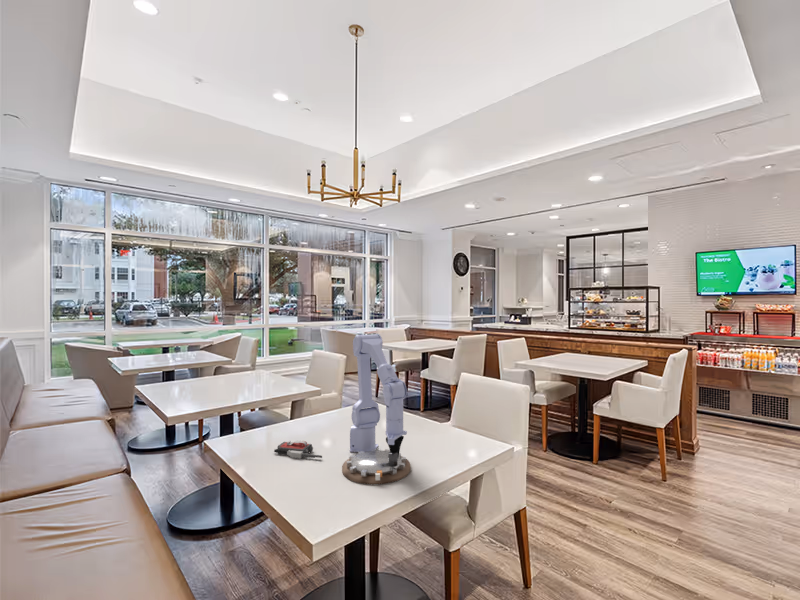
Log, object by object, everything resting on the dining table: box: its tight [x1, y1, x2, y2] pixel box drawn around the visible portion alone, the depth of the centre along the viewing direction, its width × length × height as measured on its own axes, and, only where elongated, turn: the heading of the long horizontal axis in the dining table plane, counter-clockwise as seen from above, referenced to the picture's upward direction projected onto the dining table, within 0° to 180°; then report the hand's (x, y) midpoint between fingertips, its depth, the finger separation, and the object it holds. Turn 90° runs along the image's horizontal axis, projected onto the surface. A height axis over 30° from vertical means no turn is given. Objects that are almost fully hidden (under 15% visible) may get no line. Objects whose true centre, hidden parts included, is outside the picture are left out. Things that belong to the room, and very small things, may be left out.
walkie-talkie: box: [273, 440, 323, 460], centre depth 148 cm, size 9×4×20 cm
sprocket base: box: [341, 455, 412, 486], centre depth 135 cm, size 23×23×3 cm
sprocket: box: [347, 448, 407, 477], centre depth 135 cm, size 20×20×6 cm
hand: (394, 458), depth 133 cm, fingers closed
